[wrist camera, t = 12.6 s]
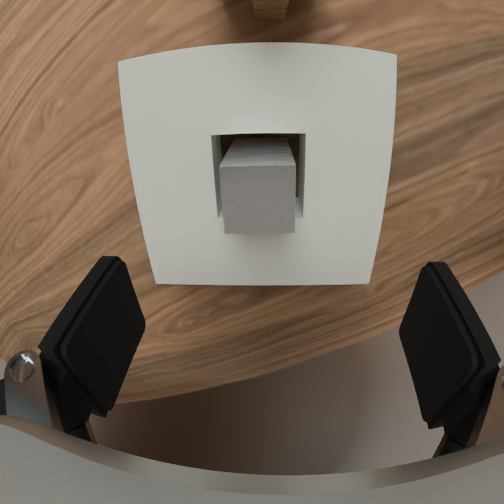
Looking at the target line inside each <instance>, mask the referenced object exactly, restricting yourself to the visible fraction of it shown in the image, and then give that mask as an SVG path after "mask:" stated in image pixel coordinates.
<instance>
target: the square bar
mask: <svg viewBox="0 0 504 504" xmlns="http://www.w3.org/2000/svg"><path fill="white" fill-rule="evenodd" d="M219 176H220V188H221V199H222V210H223V221H224V231H225V234H262V233H295V199H296V164H295V161H294V158H293V155H292V152H291V149H290V146H289V143H288V140H287V137H274V138H237V139H234V140H233V142H232V144H231V146H230V147H229V149H228V151H227V153H226V155H225V157H224V158H223V160H222V162H221V164H220V166H219Z"/></svg>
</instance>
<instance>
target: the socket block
mask: <svg viewBox="0 0 504 504" xmlns="http://www.w3.org/2000/svg"><path fill="white" fill-rule="evenodd" d="M118 71H119V83H120V94H121V103H122V112H123V121H124V128H125V136H126V143H127V149H128V156H129V162H130V168H131V174H132V180H133V185H134V190H135V196H136V201H137V206H138V210H139V215H140V220H141V224H142V229H143V233H144V238H145V242H146V246H147V250H148V254H149V258H150V262H151V266H152V270H153V274H154V278H155V281H156V284H187V285H344V284H369V281H370V276H371V272H372V268H373V263H374V259H375V254H376V249H377V244H378V239H379V234H380V229H381V224H382V218H383V212H384V206H385V200H386V193H387V186H388V179H389V171H390V163H391V154H392V144H393V133H394V121H395V104H396V75H397V55H396V54H391V53H386V52H380V51H375V50H368V49H362V48H354V47H346V46H337V45H326V44H313V43H290V42H258V43H235V44H221V45H210V46H201V47H193V48H185V49H179V50H172V51H166V52H161V53H155V54H150V55H145V56H141V57H136V58H132V59H128V60H124V61H120V62H118ZM251 133H299V177H298V197H296V199H295V233H262V234H225V231H224V221H223V210H222V199H221V188H220V176H219V166H220V164H221V162H222V148H221V135H224V134H251Z"/></svg>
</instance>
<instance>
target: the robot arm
mask: <svg viewBox="0 0 504 504" xmlns="http://www.w3.org/2000/svg"><path fill="white" fill-rule="evenodd" d="M144 330H145V319H144V316H143V314H142V311H141V308H140V305H139V302H138V300H137V297H136V294H135V291H134V288H133V285H132V282H131V279H130V276H129V273H128V270H127V267H126V264H125V262H124V261H121V259H120V258H119V257H118V256H102V257H101V258H100V259H99V260H98V261H97V263H96V264H95V265H94V267H93V268H92V269H91V270H90V272H89V273H88V274H87V276H86V277H85V278H84V280H83V281H82V282H81V284H80V285H79V287H78V288H77V289H76V291H75V292H74V293H73V295H72V296H71V298H70V299H69V300H68V302H67V303H66V305H65V306H64V308H63V309H62V311H61V312H60V313H59V315H58V316H57V318H56V319H55V321H54V322H53V324H52V325H51V327H50V328H49V330H48V332H47V333H46V335H45V336H44V338H43V339H42V341H41V343H40V344H39V346H38V347H39V349H40V350H41V353H40V355H38V354H37V353H36V352H35V351H32V350H23V351H20V352H19V353H17V354H15V355H14V356H13V357H12V358H11V359H10V360H9V362H8V363H7V366H6V368H5V373H4V379H2V380H0V504H504V366H502V367H501V369H500V368H499V366H498V363H499V362H500V361H501V359H500V357H499V355H498V353H497V350H496V349H495V346H494V344H493V342H492V340H491V338H490V337H489V335H488V333H487V331H486V329H485V327H484V325H483V323H482V321H481V320H480V318H479V316H478V314H477V312H476V311H475V309H474V307H473V305H472V304H471V302H470V300H469V299H468V297H467V295H466V294H465V292H464V290H463V289H462V287H461V285H460V284H459V282H458V281H457V279H456V278H455V276H454V274H453V273H452V271H451V270H450V268H449V267H448V265H447V264H446V263H445V262H428V263H427V264H426V266H424V267H422V269H421V271H420V274H419V277H418V280H417V283H416V286H415V289H414V291H413V294H412V297H411V300H410V302H409V305H408V307H407V310H406V313H405V315H404V318H403V320H402V323H401V325H400V329H399V336H400V339H401V342H402V346H403V349H404V352H405V355H406V358H407V362H408V365H409V369H410V372H411V376H412V379H413V383H414V386H415V390H416V394H417V398H418V402H419V406H420V410H421V414H422V418H423V420H424V421H425V422H427V424H428V428H429V429H433V428H438V427H441V426H443V427H444V431H445V433H444V436H443V437H442V439H441V441H440V444H439V445H438V447H437V449H436V451H435V453H434V455H433V457H432V458H431V459H427V460H423V461H418V462H413V463H409V464H404V465H399V466H393V467H388V468H381V469H375V470H368V471H360V472H352V473H340V474H326V475H305V476H303V475H301V476H278V475H277V476H276V475H274V476H273V475H253V474H239V473H228V472H219V471H210V470H204V469H197V468H190V467H184V466H179V465H173V464H168V463H164V462H159V461H154V460H150V459H146V458H142V457H138V456H134V455H130V454H127V453H123V452H120V451H116V450H113V449H110V448H107V447H103V446H101V445H98V443H97V440H96V438H95V435H94V432H93V430H92V427H91V424H90V421H89V417H90V414H91V413H92V414H94V415H98V416H101V417H104V418H105V417H106V415H107V413H108V411H110V410H111V409H112V408H113V407H114V404H115V401H116V399H117V396H118V394H119V391H120V388H121V386H122V383H123V381H124V378H125V376H126V373H127V371H128V368H129V366H130V364H131V361H132V359H133V356H134V354H135V352H136V349H137V347H138V344H139V342H140V340H141V337H142V335H143V333H144Z"/></svg>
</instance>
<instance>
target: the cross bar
mask: <svg viewBox="0 0 504 504" xmlns="http://www.w3.org/2000/svg"><path fill="white" fill-rule="evenodd" d="M252 1H253V6H254V12H255V17H256V20H284V17H285V13H286V10H287V6H288V2H289V0H252Z"/></svg>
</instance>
